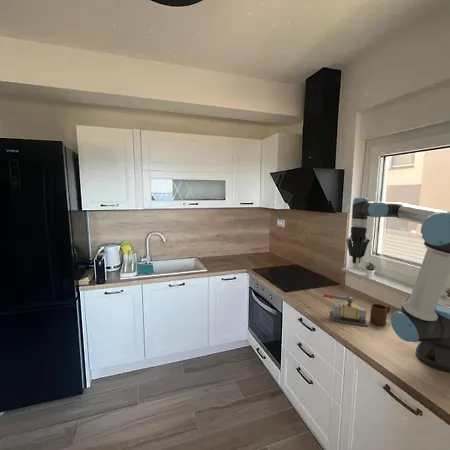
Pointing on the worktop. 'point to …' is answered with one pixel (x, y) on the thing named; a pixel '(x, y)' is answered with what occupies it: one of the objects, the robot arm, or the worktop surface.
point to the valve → (349, 314)
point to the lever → (338, 297)
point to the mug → (379, 314)
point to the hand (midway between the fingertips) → (355, 268)
